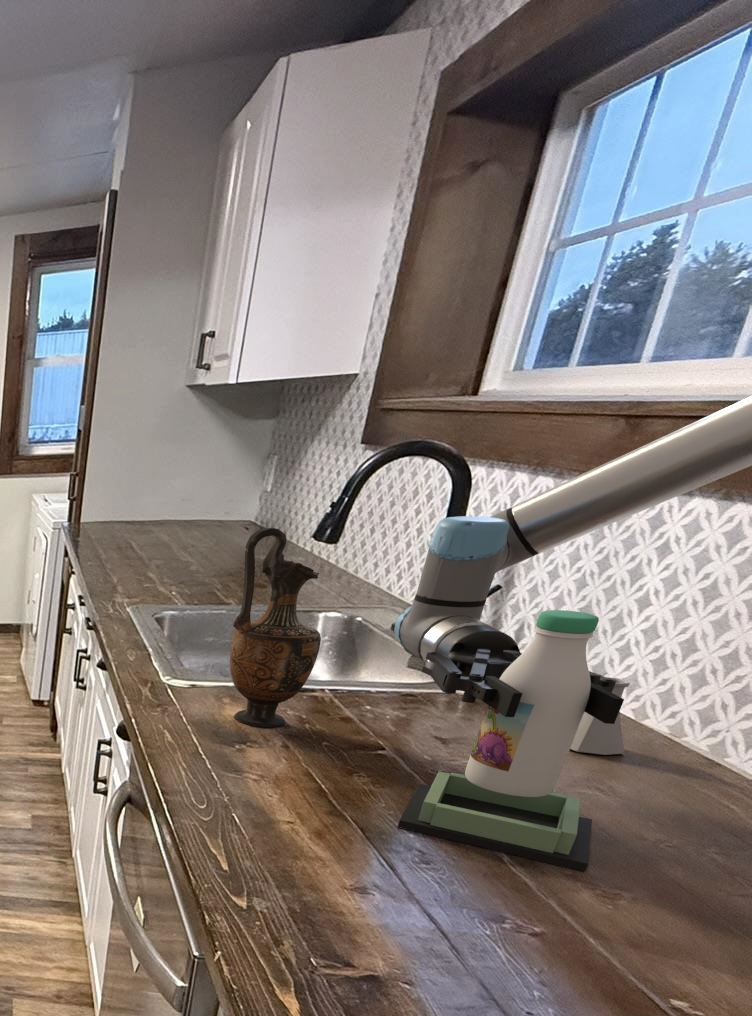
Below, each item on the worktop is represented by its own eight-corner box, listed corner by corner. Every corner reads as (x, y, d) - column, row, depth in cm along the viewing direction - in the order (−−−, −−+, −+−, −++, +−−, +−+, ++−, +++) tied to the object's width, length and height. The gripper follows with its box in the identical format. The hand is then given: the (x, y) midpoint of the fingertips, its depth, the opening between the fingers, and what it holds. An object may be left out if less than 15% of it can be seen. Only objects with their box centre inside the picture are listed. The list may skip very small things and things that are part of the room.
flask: (572, 755, 115) (599, 687, 111) (539, 737, 121) (563, 672, 118) (636, 758, 113) (665, 688, 109) (599, 739, 120) (625, 673, 116)
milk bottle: (542, 778, 96) (608, 609, 88) (560, 804, 90) (632, 624, 82) (457, 767, 100) (513, 603, 92) (469, 790, 94) (530, 618, 86)
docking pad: (589, 826, 96) (600, 799, 95) (584, 872, 87) (597, 842, 86) (416, 790, 107) (424, 765, 105) (397, 827, 98) (405, 800, 96)
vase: (311, 734, 126) (361, 533, 114) (219, 728, 130) (259, 533, 118) (288, 710, 136) (333, 523, 125) (204, 705, 140) (240, 523, 128)
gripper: (559, 685, 104) (676, 750, 85) (366, 675, 111) (434, 733, 91) (581, 627, 101) (708, 680, 82) (381, 620, 108) (455, 667, 88)
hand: (563, 708), depth 86 cm, fingers closed on milk bottle, 8 cm apart
